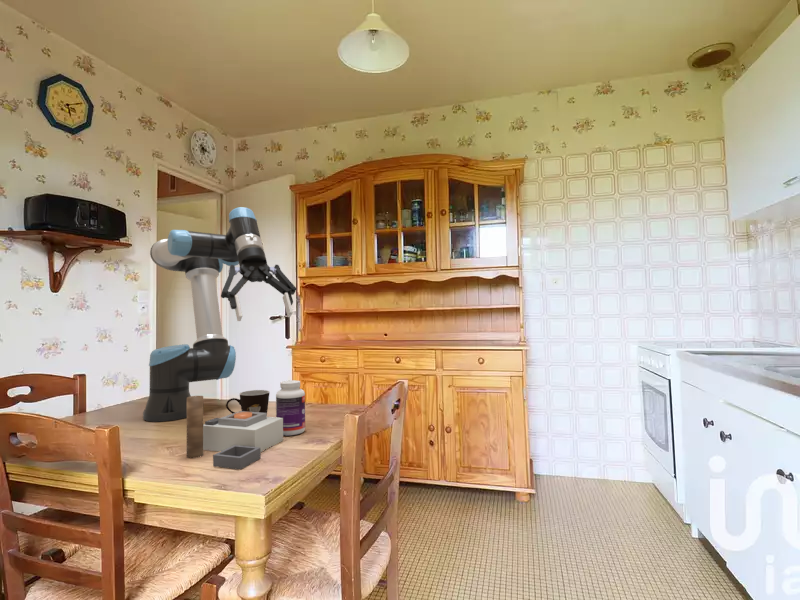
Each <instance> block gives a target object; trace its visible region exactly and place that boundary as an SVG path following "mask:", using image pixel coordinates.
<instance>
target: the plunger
mask: <svg viewBox="0 0 800 600" xmlns="http://www.w3.org/2000/svg"><path fill="white" fill-rule="evenodd" d="M238 412H239V411H238ZM235 413H236V412H235ZM250 417H252V412H239V413H236V414H234V418H237V419H247V418H250Z"/></svg>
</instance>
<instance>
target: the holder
mask: <svg viewBox="0 0 800 600" xmlns="http://www.w3.org/2000/svg"><path fill="white" fill-rule="evenodd" d="M260 459H261V452H260V448H259V447H249V446H239V445H234V446H232V447H230V448H227V449H225V450H223V451H221V452H219V451H218V452H217V453H215V454H213V455H212V464H213V465H212V466H213V467H216V468H224V469H231V470H238V471H239V470H242V469H243V468H246V467H247V466H249V465H251V464H253V463H255V462H256V461H258V460H260Z"/></svg>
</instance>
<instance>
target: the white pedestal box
mask: <svg viewBox="0 0 800 600" xmlns="http://www.w3.org/2000/svg"><path fill="white" fill-rule="evenodd" d="M239 412H247V411H242V410H238V411H236V412H235V413H233V414H232V413H230V414H227V415H226V416H221V417H215V418H212V419H209V420H205V421H204V423H203V451H211V452H219V451H223V450H225V449H227V448H230V447H232V446H234V445H239V446H249V447H259V448H260V453H262V452H263V450H264V451H266V450H268V449H270V448H272V447H273V446H275V445H277V444H279V443H281V442H283V441H284V435H283V418H278V417H276V416H268V412H267V413H261V412H252V417H250V418H247V419H237V418H234V414H236V413H239ZM271 446H272V447H271ZM269 447H270V448H269ZM267 448H268V449H267ZM265 449H266V450H265Z"/></svg>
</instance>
